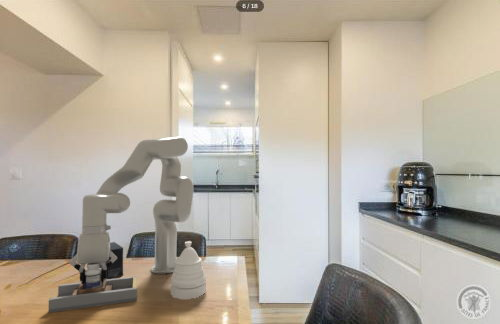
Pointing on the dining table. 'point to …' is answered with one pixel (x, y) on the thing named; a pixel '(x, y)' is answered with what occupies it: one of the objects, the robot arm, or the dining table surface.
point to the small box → (115, 262)
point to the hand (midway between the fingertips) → (93, 281)
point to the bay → (94, 295)
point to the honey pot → (188, 275)
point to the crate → (84, 291)
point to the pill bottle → (93, 276)
